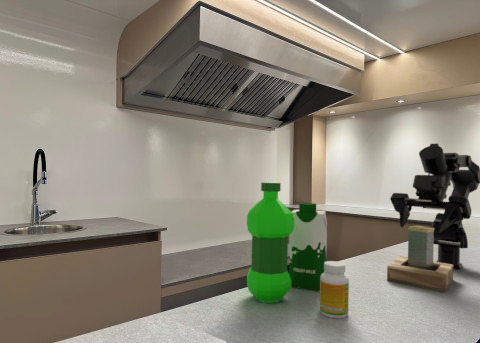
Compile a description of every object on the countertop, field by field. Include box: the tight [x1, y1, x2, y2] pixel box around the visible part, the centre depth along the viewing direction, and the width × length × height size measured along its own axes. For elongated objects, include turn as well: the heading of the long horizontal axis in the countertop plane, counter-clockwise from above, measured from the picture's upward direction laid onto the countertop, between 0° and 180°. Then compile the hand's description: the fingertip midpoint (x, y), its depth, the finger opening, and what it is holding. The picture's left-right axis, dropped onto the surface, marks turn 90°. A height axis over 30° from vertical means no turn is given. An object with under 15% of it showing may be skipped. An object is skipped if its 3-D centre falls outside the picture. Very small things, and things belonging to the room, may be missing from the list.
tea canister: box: [407, 224, 434, 271], centre depth 88 cm, size 5×5×13 cm
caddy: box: [386, 255, 454, 294], centre depth 88 cm, size 13×13×4 cm
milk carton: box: [288, 202, 328, 292], centre depth 83 cm, size 9×9×20 cm
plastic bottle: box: [246, 182, 294, 304], centre depth 73 cm, size 10×10×25 cm
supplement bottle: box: [319, 260, 350, 319], centre depth 66 cm, size 5×5×10 cm
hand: (419, 228), depth 87 cm, fingers open, 9 cm apart
